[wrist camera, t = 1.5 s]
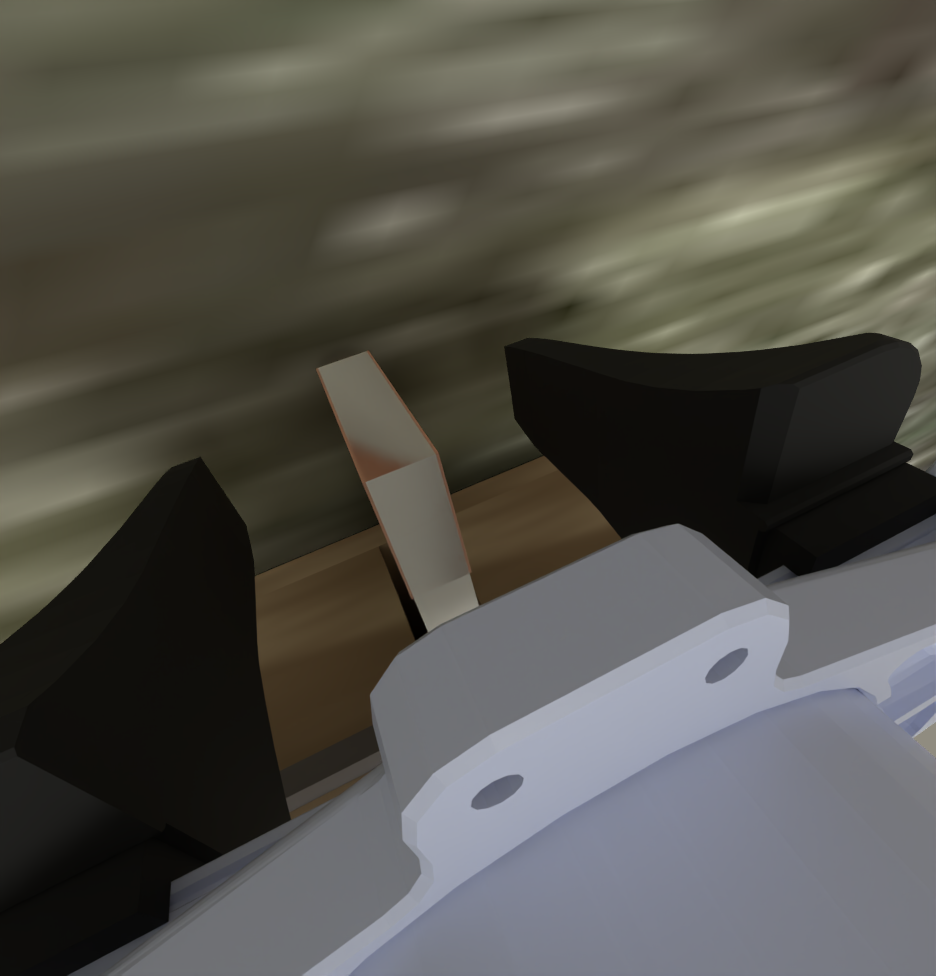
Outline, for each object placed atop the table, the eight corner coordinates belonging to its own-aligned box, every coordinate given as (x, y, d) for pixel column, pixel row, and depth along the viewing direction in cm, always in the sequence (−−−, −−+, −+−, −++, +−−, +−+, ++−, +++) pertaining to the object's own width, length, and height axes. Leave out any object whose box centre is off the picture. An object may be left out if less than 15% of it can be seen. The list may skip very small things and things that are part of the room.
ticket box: (587, 648, 27) (692, 796, 21) (344, 772, 24) (385, 981, 18) (576, 428, 18) (759, 580, 12) (181, 590, 15) (155, 893, 9)
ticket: (491, 714, 24) (542, 823, 20) (466, 727, 23) (513, 839, 20) (368, 350, 12) (438, 453, 8) (315, 368, 11) (361, 483, 8)
